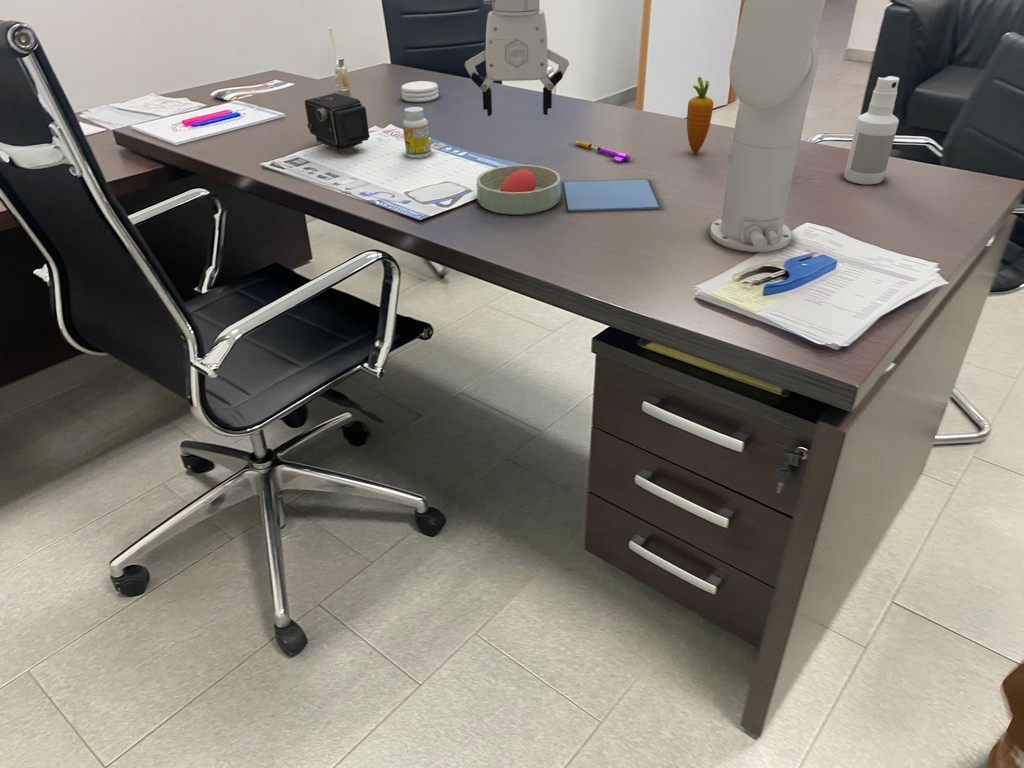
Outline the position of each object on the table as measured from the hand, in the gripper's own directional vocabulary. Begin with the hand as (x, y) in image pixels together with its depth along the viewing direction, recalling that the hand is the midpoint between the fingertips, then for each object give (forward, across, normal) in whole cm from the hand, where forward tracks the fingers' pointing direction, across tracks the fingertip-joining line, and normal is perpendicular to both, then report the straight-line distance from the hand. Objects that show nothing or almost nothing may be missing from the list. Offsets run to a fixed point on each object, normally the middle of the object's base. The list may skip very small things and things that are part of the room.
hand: (517, 113), depth 124 cm
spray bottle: (+15, +65, +5) cm, 67 cm away
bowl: (+15, 0, 0) cm, 15 cm away
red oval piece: (+15, 0, 0) cm, 15 cm away
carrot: (+15, +37, +23) cm, 46 cm away
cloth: (+15, +17, 0) cm, 23 cm away
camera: (+16, -40, +34) cm, 55 cm away
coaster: (+16, -27, +78) cm, 84 cm away
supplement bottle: (+16, -22, +28) cm, 39 cm away
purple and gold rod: (+16, +17, +25) cm, 34 cm away
